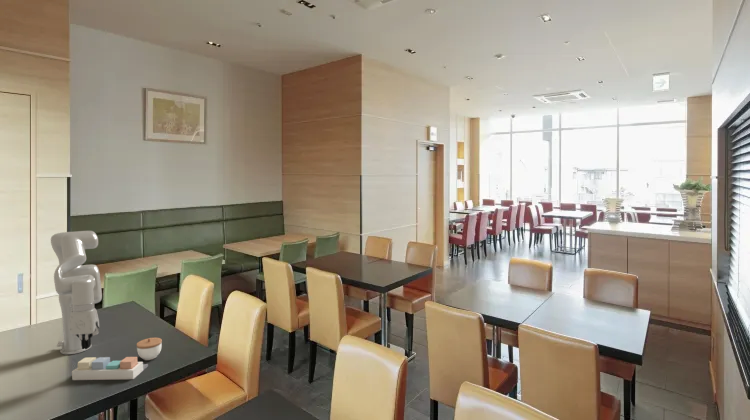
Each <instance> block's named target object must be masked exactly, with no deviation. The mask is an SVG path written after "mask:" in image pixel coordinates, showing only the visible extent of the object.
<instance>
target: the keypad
mask: <svg viewBox="0 0 750 420" xmlns="http://www.w3.org/2000/svg"><path fill="white" fill-rule="evenodd" d="M148 367H149V364H148V363H144V362H143V361H138V364H137V365H136V366H135V367H133V368H132V369H120V368H119V369H106V368H105V369H96V370H92V368H91V369H90V370H78V366H77V367H76V368H75V369H74V368H73V370H72V371H71V376H72V377H71V378H72V379H71V380H72V381H93V380H94V381H95V380H96V381H99V380H103V381H104V380H134V379H136V378H137V377H138V376H139V375H140V374H141V373H142V372H143V371H145V370H146V369H147V368H148Z"/></svg>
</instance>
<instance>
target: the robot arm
mask: <svg viewBox="0 0 750 420" xmlns="http://www.w3.org/2000/svg"><path fill="white" fill-rule="evenodd" d="M50 244H51V248H52V250H53V252H54V254H55V255H56V257H57V259H58V266H57V267H56V269H55V271H54V273H53V281H54V288H55V291H56V294H58V303H59V306H60V310H61V318H62V319H61V320H62V332H63V334H62V335H63V340H59V341H58V342H57V345H56V347H61V349H60V353H61V354H62V355H74V354H79V353H83V352H85V351H88V350H89V349H91V348H92V341H91V340H92V338H93V336H97V335H98V334H99V333H100V331H99V330H100V319H99V315H98V311H97V308H95V304H98V303H100V302H101V301H102V299H103V293H102V292H103V291H102V284H101V283H102V281H101V274H100V270H99V269H100V268H99V267H98V265H96V264H85V263H86V261H87V255H86V250H91V249H96V248H98V246H99V237H98V235H97V233H96V232H95V231H93V230H78V231H66V232H65V231H64V232H58V233H55V234H53V235H52V236H51V238H50ZM83 264H84V265H83Z"/></svg>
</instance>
